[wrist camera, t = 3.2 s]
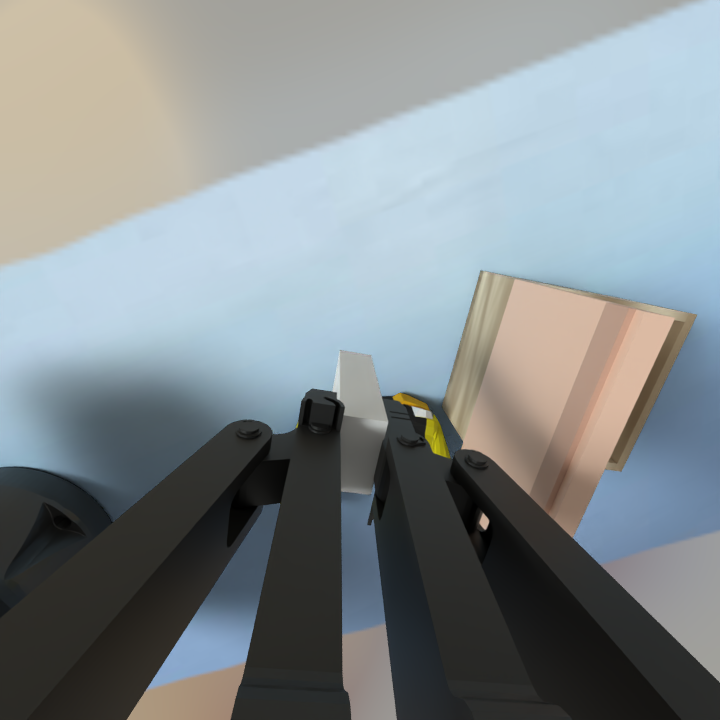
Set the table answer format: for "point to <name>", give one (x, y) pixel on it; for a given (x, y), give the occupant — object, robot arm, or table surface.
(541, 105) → the table surface
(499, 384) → the lid
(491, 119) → the table surface
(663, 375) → the box
